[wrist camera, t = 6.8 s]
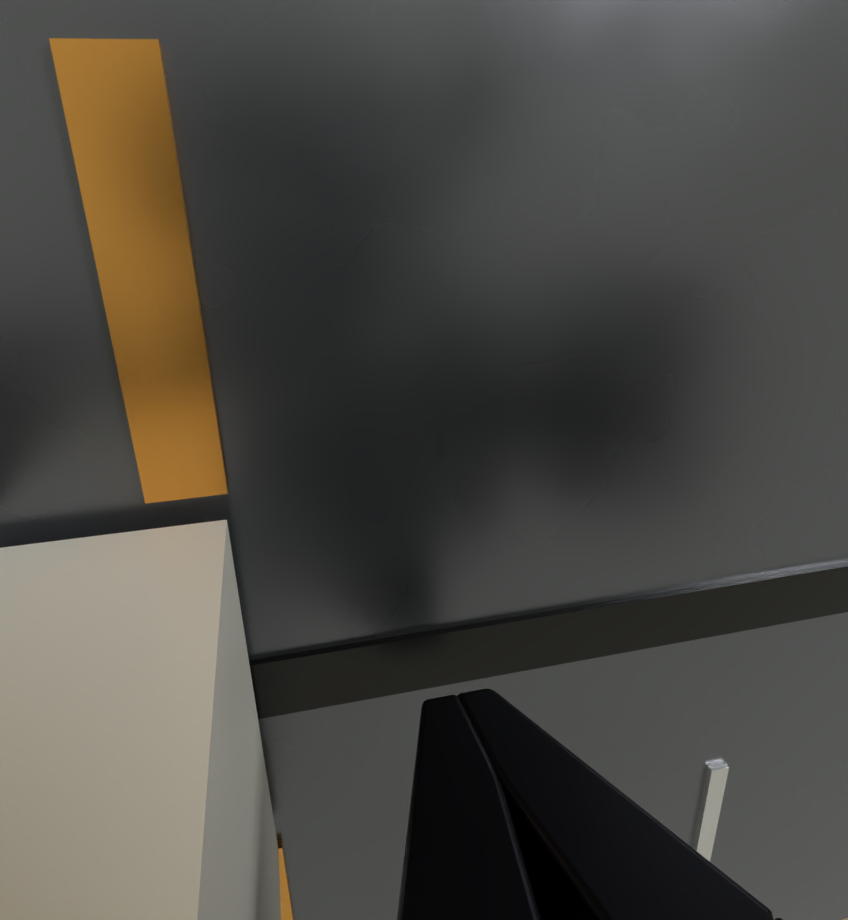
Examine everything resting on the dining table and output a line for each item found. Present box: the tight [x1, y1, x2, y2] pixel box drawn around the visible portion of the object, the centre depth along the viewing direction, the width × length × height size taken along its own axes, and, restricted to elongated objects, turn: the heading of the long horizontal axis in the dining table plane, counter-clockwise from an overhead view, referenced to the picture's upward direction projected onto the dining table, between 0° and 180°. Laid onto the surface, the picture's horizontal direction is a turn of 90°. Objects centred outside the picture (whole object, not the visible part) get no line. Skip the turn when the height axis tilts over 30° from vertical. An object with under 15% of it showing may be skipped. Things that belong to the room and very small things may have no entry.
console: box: [0, 0, 848, 920], centre depth 9 cm, size 22×16×4 cm
